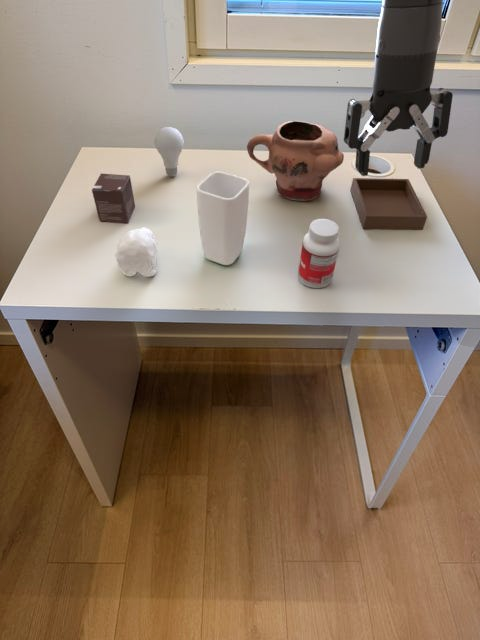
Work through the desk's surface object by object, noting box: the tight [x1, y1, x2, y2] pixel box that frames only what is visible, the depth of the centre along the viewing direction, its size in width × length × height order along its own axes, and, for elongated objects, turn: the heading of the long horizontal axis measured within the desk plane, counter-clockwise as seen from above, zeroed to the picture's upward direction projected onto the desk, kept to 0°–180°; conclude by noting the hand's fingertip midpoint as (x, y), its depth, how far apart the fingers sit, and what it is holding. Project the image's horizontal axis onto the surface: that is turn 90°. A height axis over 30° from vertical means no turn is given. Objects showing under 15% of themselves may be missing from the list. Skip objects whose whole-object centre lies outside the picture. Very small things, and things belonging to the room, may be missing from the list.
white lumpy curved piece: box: [114, 226, 157, 278], centre depth 82 cm, size 6×8×12 cm
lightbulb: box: [154, 126, 185, 178], centre depth 101 cm, size 6×6×11 cm
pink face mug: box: [246, 120, 345, 201], centre depth 98 cm, size 20×12×14 cm, turn 87°
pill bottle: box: [297, 218, 341, 289], centre depth 79 cm, size 6×6×11 cm
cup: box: [196, 170, 250, 266], centre depth 81 cm, size 7×7×15 cm
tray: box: [350, 177, 428, 231], centre depth 98 cm, size 14×12×3 cm
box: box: [91, 173, 136, 224], centre depth 92 cm, size 6×6×7 cm
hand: (390, 170), depth 69 cm, fingers open, 8 cm apart
